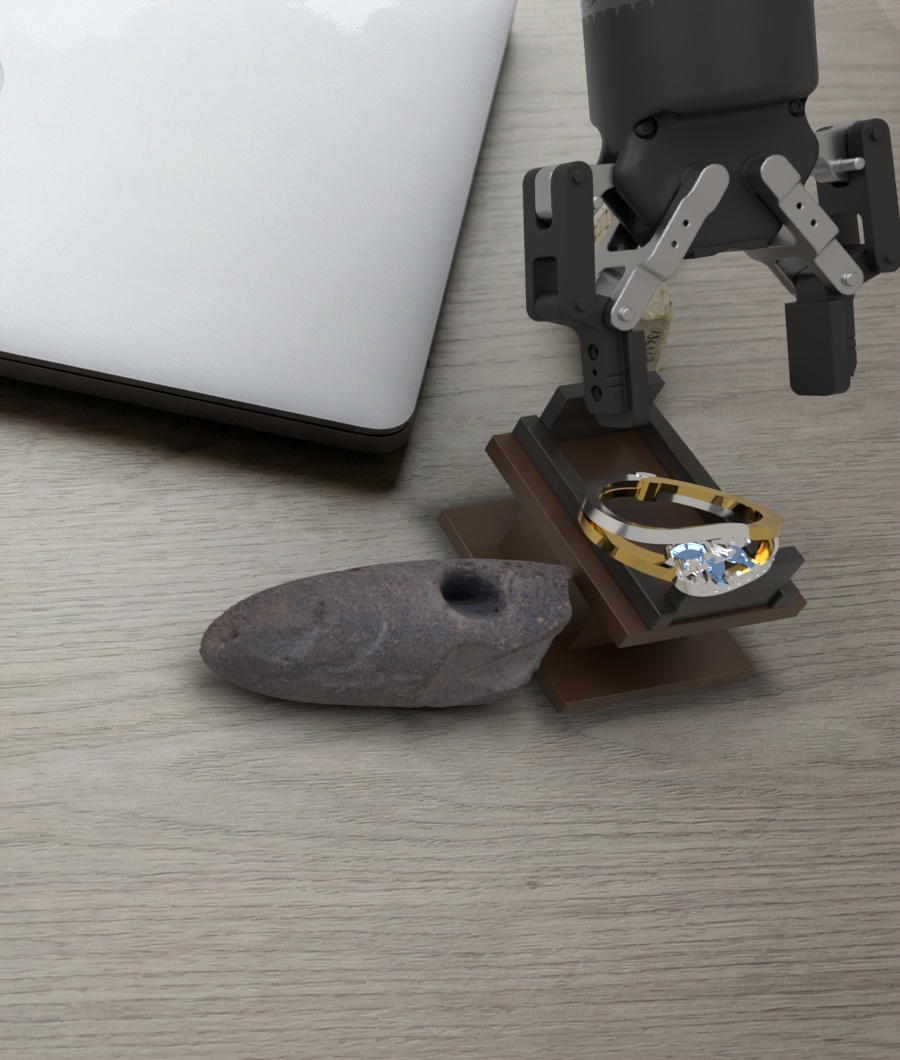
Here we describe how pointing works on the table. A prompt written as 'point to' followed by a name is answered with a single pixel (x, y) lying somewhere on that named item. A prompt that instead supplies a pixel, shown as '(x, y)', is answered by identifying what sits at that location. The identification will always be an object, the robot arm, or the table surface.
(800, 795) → the table surface
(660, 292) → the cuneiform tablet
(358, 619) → the perforated stone tool
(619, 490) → the ring
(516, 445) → the stand
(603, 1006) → the table surface
